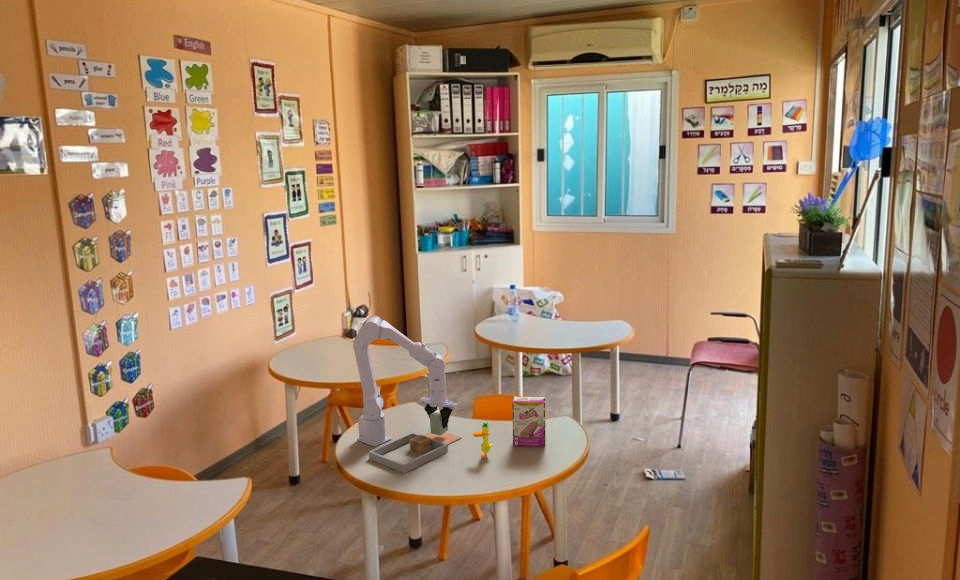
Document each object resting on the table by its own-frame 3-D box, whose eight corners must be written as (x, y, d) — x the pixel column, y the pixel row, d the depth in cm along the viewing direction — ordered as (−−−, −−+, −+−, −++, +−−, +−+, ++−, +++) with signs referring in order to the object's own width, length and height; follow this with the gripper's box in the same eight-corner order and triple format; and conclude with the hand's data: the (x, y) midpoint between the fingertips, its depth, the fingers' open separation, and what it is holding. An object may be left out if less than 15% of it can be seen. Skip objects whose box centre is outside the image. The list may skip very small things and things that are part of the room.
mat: (419, 438, 244) (419, 437, 244) (436, 430, 251) (436, 429, 251) (443, 447, 236) (443, 445, 236) (461, 438, 243) (461, 437, 243)
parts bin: (369, 458, 229) (368, 451, 229) (413, 438, 244) (412, 432, 244) (404, 473, 218) (403, 465, 218) (447, 451, 233) (447, 444, 233)
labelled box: (430, 433, 242) (429, 414, 240) (438, 428, 246) (437, 409, 244) (440, 435, 240) (439, 415, 238) (448, 430, 244) (447, 410, 243)
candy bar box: (512, 447, 235) (511, 401, 231) (513, 441, 240) (512, 396, 236) (546, 447, 234) (545, 401, 230) (546, 441, 238) (545, 396, 235)
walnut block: (410, 450, 235) (409, 439, 234) (420, 445, 239) (420, 434, 238) (420, 454, 232) (420, 443, 231) (431, 449, 236) (430, 438, 235)
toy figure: (474, 460, 226) (473, 425, 223) (472, 455, 229) (471, 421, 227) (494, 458, 227) (493, 423, 224) (492, 453, 230) (491, 419, 228)
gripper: (413, 389, 240) (416, 426, 243) (449, 395, 233) (451, 433, 236) (425, 383, 246) (427, 419, 249) (460, 389, 239) (461, 426, 242)
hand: (439, 426), depth 243 cm, fingers closed on labelled box, 4 cm apart
